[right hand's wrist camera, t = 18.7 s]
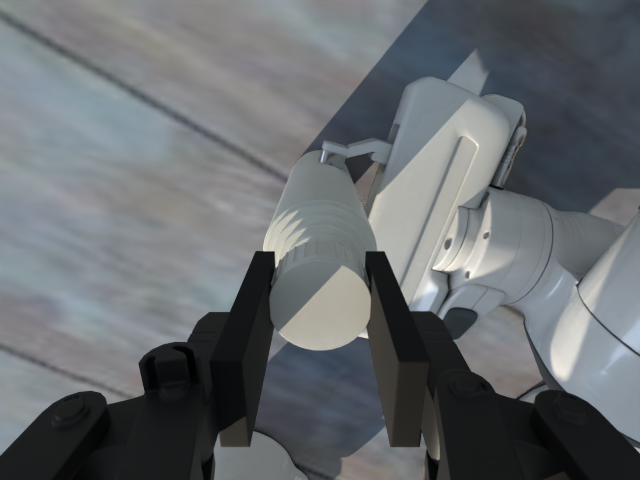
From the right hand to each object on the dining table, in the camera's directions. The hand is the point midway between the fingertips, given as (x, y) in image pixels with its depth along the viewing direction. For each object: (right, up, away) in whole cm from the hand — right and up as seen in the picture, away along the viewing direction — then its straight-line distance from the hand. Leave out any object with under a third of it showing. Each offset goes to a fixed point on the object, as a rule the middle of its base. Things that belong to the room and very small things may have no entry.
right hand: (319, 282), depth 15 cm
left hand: (-1, +5, +13) cm, 14 cm away
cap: (0, -1, -2) cm, 2 cm away
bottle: (0, +7, +19) cm, 20 cm away
